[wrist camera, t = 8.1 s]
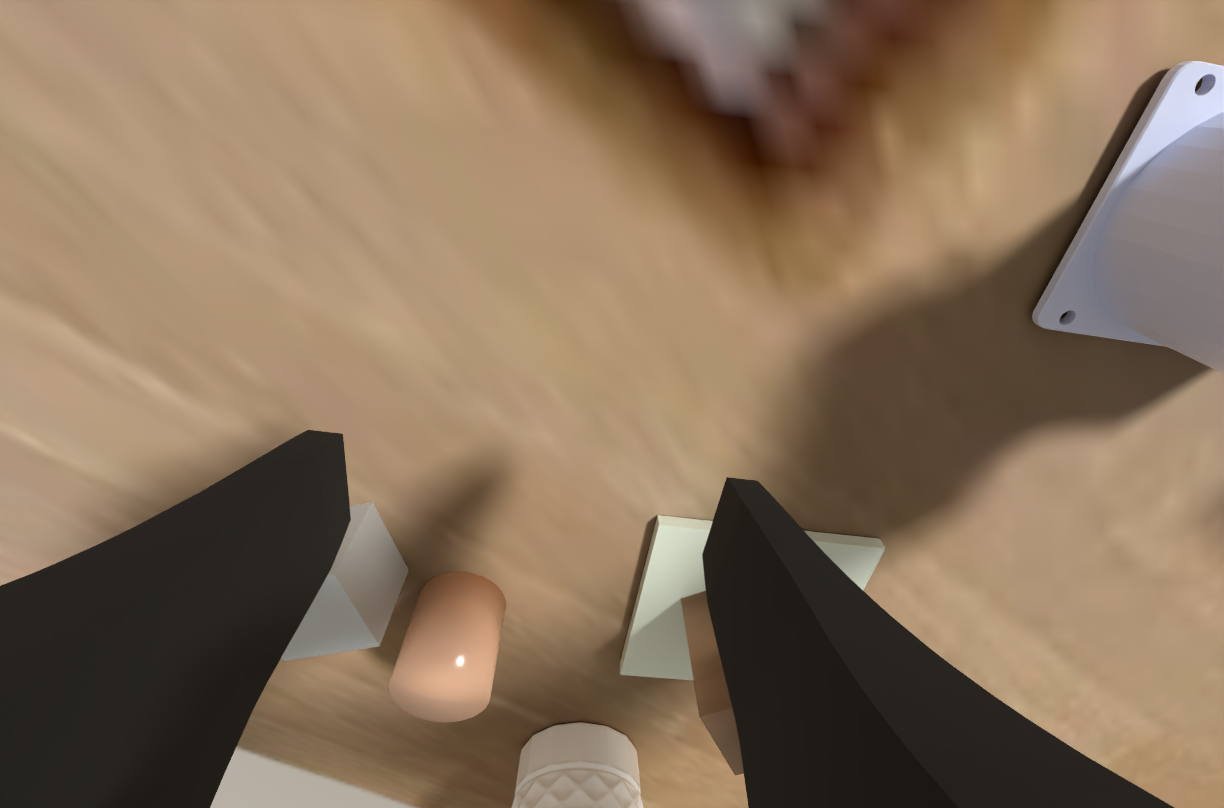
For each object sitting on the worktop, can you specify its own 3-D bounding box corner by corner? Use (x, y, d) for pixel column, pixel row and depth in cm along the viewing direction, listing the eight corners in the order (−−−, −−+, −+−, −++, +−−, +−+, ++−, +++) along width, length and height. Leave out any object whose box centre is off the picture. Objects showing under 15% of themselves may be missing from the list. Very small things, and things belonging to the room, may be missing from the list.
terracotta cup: (508, 576, 26) (493, 665, 22) (503, 634, 28) (488, 725, 24) (418, 567, 25) (386, 656, 22) (419, 627, 27) (390, 719, 23)
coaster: (879, 538, 25) (885, 548, 25) (806, 678, 30) (810, 689, 30) (657, 515, 24) (658, 524, 24) (619, 664, 29) (620, 674, 29)
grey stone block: (372, 500, 24) (333, 574, 20) (409, 568, 26) (379, 646, 22) (282, 516, 24) (229, 591, 20) (325, 582, 26) (283, 661, 22)
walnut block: (776, 568, 25) (818, 684, 20) (801, 630, 27) (844, 748, 22) (680, 598, 26) (699, 716, 21) (711, 655, 28) (735, 775, 23)
